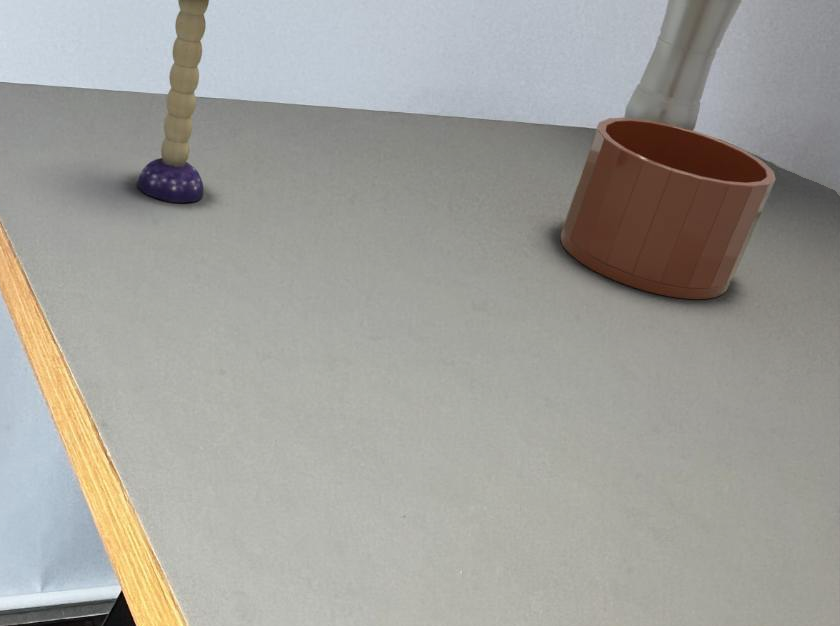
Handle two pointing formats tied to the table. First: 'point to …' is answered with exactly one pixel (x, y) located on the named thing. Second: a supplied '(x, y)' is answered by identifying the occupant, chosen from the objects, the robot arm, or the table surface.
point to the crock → (665, 208)
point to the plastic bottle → (681, 62)
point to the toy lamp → (179, 113)
